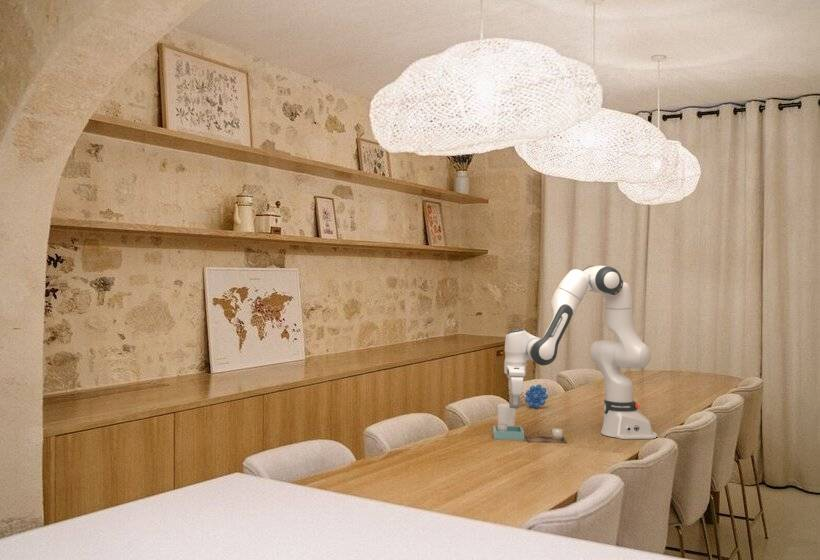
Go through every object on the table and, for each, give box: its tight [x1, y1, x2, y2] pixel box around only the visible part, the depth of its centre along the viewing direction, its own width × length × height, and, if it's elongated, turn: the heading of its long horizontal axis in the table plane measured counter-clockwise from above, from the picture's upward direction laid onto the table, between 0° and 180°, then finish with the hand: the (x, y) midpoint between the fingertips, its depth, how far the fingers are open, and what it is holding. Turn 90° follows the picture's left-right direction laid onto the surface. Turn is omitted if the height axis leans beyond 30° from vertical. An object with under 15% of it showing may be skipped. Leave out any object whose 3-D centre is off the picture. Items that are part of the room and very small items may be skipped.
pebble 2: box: [508, 395, 521, 409], centre depth 299 cm, size 4×4×4 cm
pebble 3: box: [551, 427, 563, 441], centre depth 293 cm, size 4×4×4 cm
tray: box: [525, 435, 568, 444], centre depth 293 cm, size 15×8×1 cm, turn 87°
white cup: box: [496, 403, 517, 426], centre depth 317 cm, size 8×8×10 cm
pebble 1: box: [496, 423, 507, 431], centre depth 299 cm, size 4×4×4 cm
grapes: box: [524, 383, 549, 409], centre depth 368 cm, size 12×7×12 cm, turn 64°
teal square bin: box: [492, 425, 525, 441], centre depth 299 cm, size 12×12×4 cm
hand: (514, 403), depth 299 cm, fingers closed on pebble 2, 4 cm apart
